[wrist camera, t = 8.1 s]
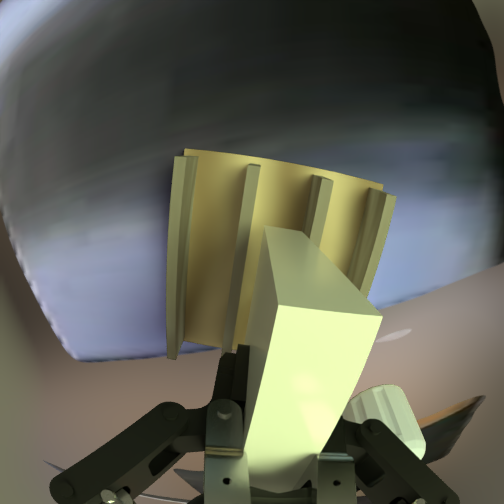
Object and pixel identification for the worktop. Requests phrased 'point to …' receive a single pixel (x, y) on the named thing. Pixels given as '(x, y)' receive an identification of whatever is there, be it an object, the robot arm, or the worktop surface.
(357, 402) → the soap bottle
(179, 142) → the worktop surface
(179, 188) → the dish rack
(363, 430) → the robot arm
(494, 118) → the worktop surface
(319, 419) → the pale green flat slab
